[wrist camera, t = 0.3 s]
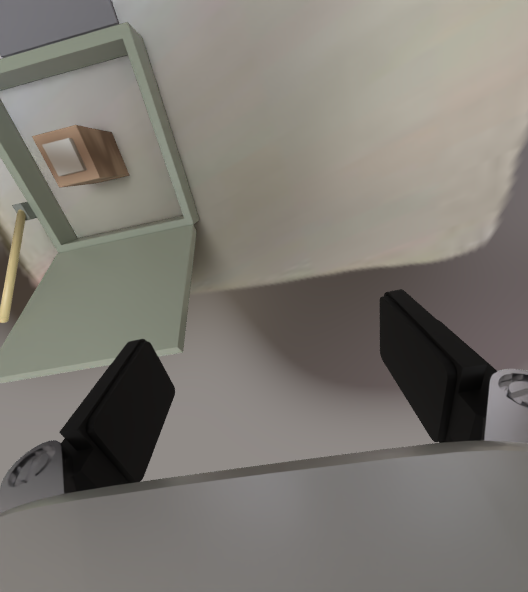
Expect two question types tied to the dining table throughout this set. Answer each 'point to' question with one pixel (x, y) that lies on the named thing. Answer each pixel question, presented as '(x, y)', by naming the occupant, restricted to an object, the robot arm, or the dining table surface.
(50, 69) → the case
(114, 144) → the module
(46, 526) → the robot arm
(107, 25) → the mat
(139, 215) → the dining table surface
